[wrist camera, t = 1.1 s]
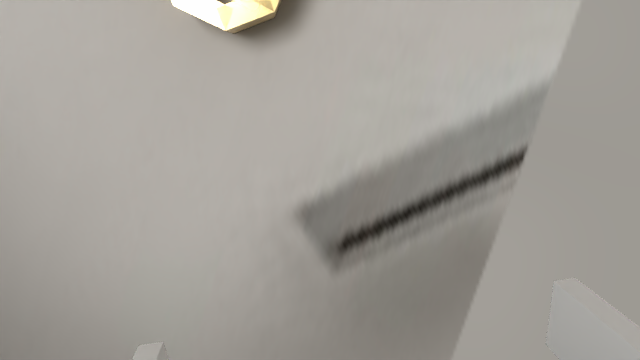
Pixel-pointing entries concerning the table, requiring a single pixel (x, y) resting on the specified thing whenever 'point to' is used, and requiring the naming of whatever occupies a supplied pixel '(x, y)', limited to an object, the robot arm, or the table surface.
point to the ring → (231, 12)
